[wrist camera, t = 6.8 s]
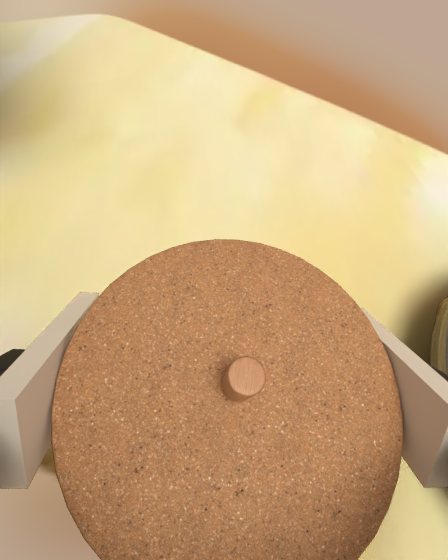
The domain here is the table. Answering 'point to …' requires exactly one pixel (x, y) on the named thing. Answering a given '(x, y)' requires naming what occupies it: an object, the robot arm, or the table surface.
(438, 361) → the base
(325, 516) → the lidded jar
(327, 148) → the table surface
